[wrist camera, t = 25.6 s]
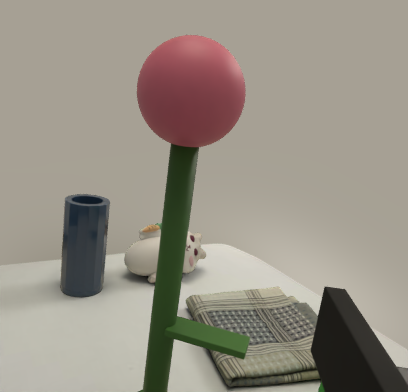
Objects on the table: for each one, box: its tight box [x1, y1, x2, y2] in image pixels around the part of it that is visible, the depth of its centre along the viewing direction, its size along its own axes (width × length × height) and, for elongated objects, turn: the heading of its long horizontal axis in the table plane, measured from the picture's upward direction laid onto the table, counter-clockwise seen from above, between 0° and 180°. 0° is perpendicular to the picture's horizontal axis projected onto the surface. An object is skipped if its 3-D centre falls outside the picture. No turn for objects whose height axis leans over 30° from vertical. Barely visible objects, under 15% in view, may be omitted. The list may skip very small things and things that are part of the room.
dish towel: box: [186, 287, 320, 387], centre depth 52 cm, size 19×18×3 cm
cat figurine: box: [124, 223, 206, 283], centre depth 67 cm, size 10×8×15 cm
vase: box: [60, 194, 110, 297], centre depth 58 cm, size 6×6×14 cm
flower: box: [137, 35, 250, 392], centre depth 21 cm, size 7×5×32 cm
